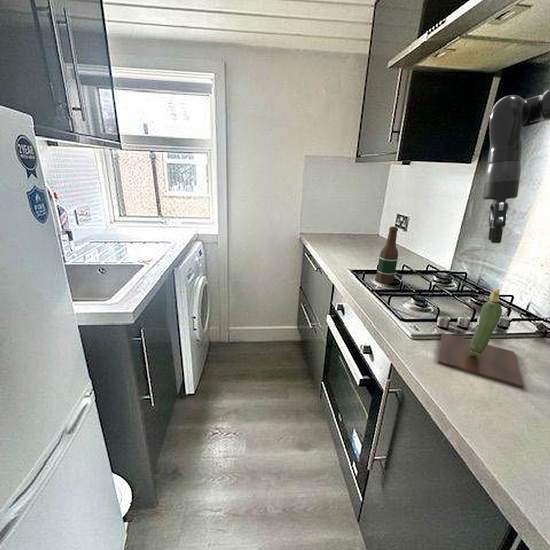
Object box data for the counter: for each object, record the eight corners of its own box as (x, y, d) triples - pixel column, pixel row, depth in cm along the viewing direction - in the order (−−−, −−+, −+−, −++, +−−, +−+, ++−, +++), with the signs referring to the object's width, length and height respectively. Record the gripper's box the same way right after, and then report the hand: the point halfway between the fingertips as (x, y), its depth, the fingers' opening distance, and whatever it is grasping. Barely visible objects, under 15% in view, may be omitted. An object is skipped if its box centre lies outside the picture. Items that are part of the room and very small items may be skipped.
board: (513, 353, 84) (513, 351, 84) (522, 388, 71) (523, 385, 71) (441, 334, 92) (441, 332, 92) (438, 362, 80) (438, 360, 79)
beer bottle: (371, 280, 133) (380, 226, 124) (380, 276, 138) (389, 224, 129) (388, 285, 128) (398, 230, 119) (397, 281, 133) (407, 227, 124)
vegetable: (471, 348, 85) (491, 283, 77) (488, 356, 82) (512, 288, 74) (465, 354, 82) (485, 287, 75) (482, 362, 79) (506, 293, 72)
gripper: (524, 177, 72) (515, 244, 76) (515, 181, 84) (507, 239, 87) (486, 179, 76) (479, 243, 79) (482, 183, 88) (476, 239, 91)
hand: (494, 241), depth 83 cm, fingers open, 8 cm apart
